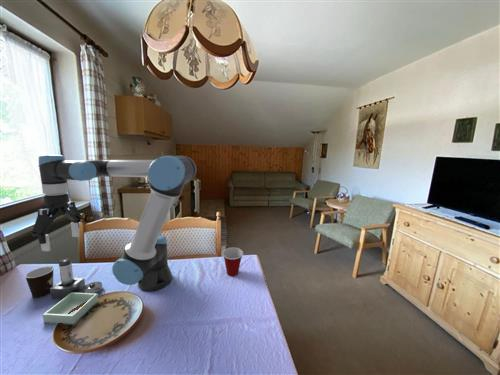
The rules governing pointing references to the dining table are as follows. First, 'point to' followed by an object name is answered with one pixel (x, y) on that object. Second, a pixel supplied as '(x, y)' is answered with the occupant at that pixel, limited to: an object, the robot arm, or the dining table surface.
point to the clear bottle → (66, 272)
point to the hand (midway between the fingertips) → (62, 243)
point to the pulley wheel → (92, 288)
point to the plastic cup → (232, 260)
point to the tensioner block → (67, 289)
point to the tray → (70, 308)
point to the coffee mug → (40, 281)
